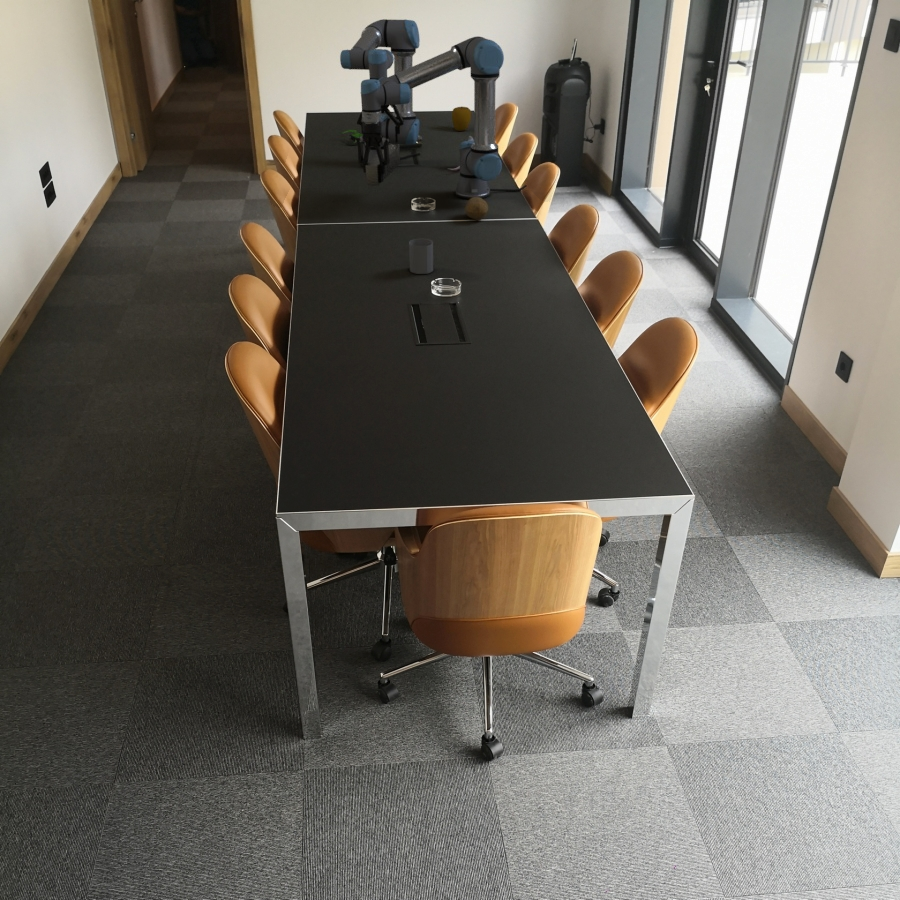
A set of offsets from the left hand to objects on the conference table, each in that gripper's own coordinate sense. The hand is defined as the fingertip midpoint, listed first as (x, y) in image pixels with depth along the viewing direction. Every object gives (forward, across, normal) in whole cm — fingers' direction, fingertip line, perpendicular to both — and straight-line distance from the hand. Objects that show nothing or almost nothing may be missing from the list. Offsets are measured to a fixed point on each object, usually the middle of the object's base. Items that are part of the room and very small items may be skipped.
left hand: (381, 141), depth 378 cm
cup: (+20, +27, -96) cm, 101 cm away
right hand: (+8, +1, -32) cm, 33 cm away
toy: (+23, +34, +36) cm, 54 cm away
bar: (+8, +3, -19) cm, 21 cm away
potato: (+21, +44, -36) cm, 60 cm away
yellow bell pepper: (+25, +27, +122) cm, 127 cm away
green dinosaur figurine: (+24, -20, +89) cm, 95 cm away
